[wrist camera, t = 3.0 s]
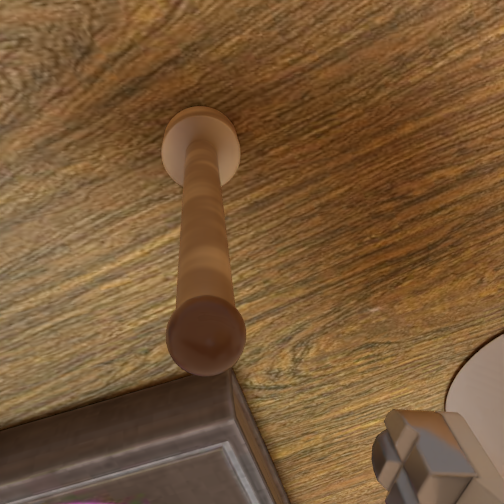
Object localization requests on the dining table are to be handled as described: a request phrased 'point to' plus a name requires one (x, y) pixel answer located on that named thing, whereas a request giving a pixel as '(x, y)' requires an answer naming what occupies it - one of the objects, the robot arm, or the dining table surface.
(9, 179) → the dining table surface
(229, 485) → the book
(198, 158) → the wooden peg stand
